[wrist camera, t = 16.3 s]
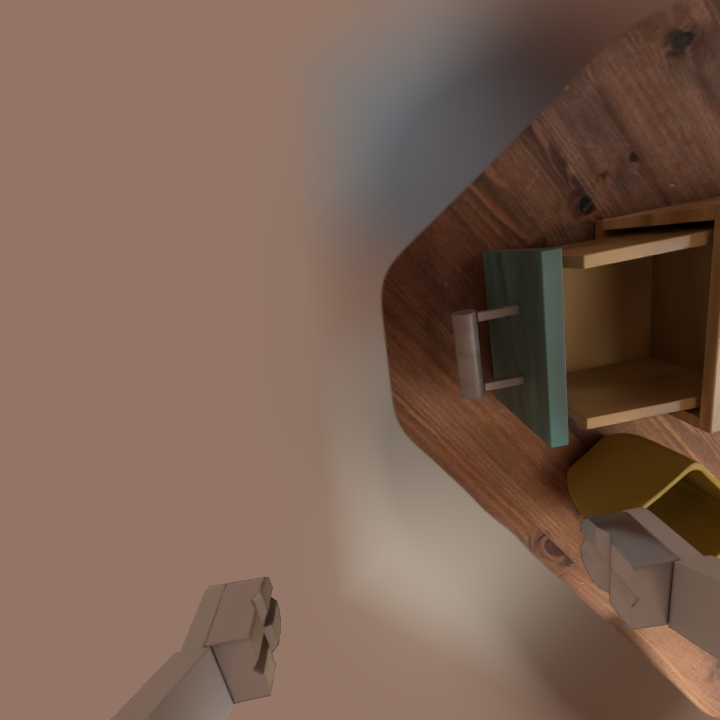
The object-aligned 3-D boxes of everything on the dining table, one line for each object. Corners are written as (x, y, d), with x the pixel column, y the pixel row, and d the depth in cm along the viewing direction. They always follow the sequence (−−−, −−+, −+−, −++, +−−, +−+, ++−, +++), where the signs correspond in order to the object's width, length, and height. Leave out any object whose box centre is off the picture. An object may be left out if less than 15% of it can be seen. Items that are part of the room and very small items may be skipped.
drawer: (445, 407, 32) (483, 462, 24) (426, 263, 29) (462, 266, 20) (647, 367, 32) (757, 407, 24) (652, 218, 29) (782, 202, 20)
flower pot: (594, 520, 38) (670, 599, 29) (537, 473, 36) (601, 544, 27) (662, 459, 36) (765, 524, 27) (607, 407, 34) (698, 460, 25)
